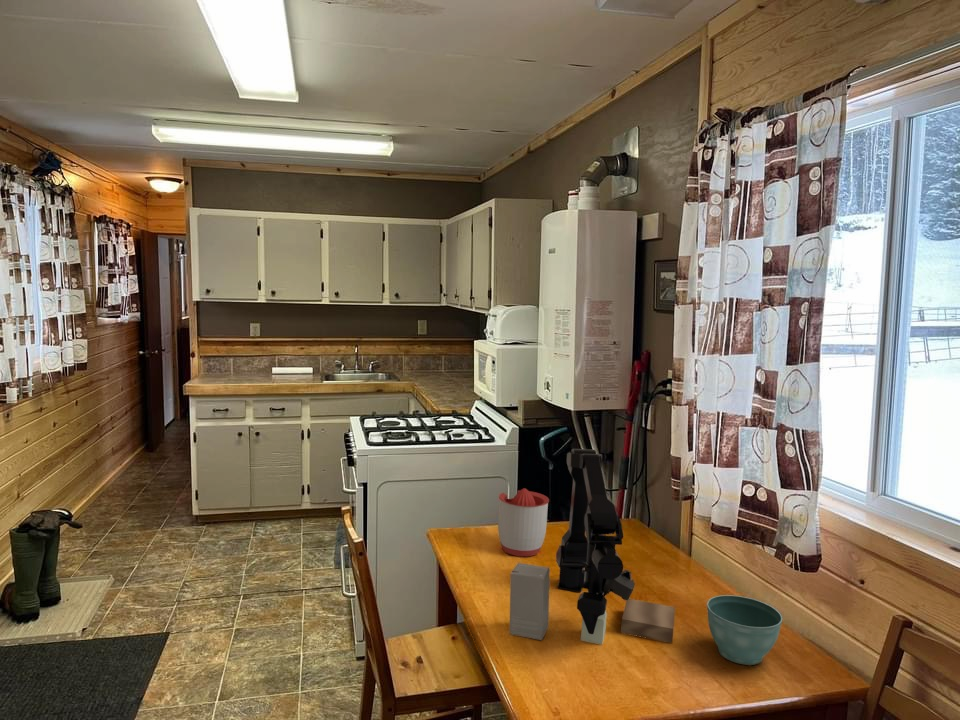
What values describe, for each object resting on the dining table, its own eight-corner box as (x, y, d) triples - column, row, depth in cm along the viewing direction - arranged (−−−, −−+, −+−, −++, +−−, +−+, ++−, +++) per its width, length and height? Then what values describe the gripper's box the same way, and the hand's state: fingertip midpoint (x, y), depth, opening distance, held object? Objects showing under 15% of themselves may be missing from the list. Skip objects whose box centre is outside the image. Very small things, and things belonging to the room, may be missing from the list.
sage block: (580, 640, 161) (582, 616, 160) (584, 630, 166) (585, 607, 165) (602, 645, 159) (604, 620, 159) (604, 635, 164) (606, 611, 163)
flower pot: (688, 645, 161) (692, 601, 160) (735, 631, 169) (739, 589, 168) (744, 681, 147) (749, 633, 146) (793, 664, 155) (798, 619, 154)
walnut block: (620, 634, 165) (621, 618, 165) (625, 613, 177) (627, 598, 176) (672, 645, 162) (673, 628, 161) (673, 622, 173) (675, 607, 173)
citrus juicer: (522, 536, 226) (526, 477, 224) (555, 555, 212) (560, 492, 210) (483, 543, 218) (486, 482, 216) (514, 563, 204) (518, 498, 201)
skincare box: (548, 629, 165) (552, 566, 163) (541, 643, 158) (545, 577, 157) (514, 622, 168) (518, 559, 166) (506, 635, 161) (510, 570, 159)
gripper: (629, 583, 149) (624, 651, 151) (637, 553, 167) (632, 614, 169) (579, 574, 153) (574, 640, 154) (591, 545, 170) (587, 605, 172)
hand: (593, 624), depth 162 cm, fingers open, 9 cm apart
